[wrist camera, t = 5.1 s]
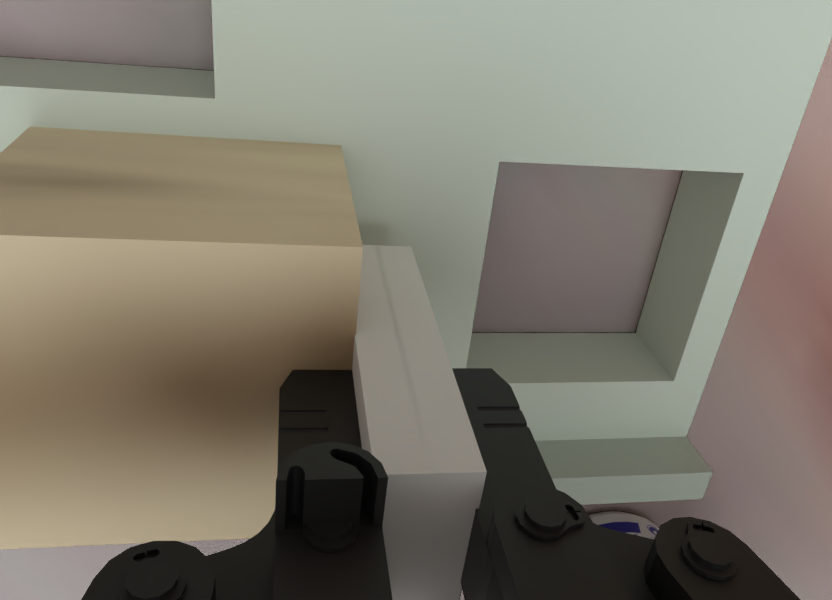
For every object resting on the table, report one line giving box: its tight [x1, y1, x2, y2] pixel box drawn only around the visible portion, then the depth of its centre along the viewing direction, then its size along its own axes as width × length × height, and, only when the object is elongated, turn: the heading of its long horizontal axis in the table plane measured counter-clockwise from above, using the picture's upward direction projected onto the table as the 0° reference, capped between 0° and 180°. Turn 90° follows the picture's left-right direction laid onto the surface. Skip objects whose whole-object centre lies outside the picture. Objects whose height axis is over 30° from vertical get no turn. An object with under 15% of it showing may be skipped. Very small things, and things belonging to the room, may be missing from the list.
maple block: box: [0, 127, 363, 549], centre depth 14 cm, size 6×6×5 cm
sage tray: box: [0, 0, 832, 505], centre depth 15 cm, size 18×26×4 cm
